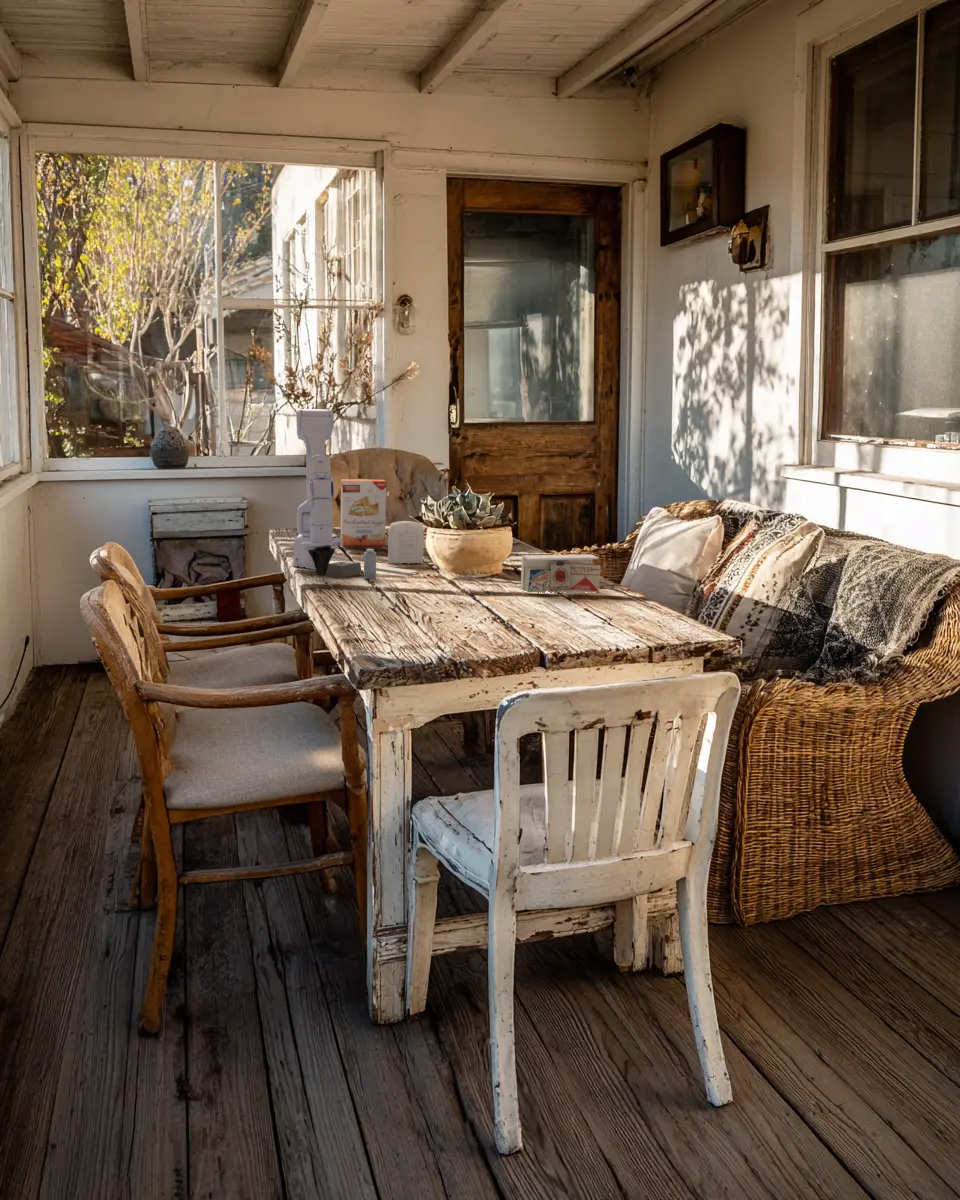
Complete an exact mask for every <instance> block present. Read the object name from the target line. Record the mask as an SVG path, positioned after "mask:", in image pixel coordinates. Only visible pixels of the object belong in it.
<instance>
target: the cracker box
mask: <svg viewBox="0 0 960 1200" xmlns="http://www.w3.org/2000/svg"><path fill="white" fill-rule="evenodd" d="M386 509H387V481H386V480H385V479H369V478H364V479H363V478H360V479H359V478H358V479H354V478H353V479H352V478H348V479H347V478H345V479H344V478H343V479H341V480H340V538H342V539H343V546H345V547H346V546H350V547H353V546H355V547H356V546H358V547H359V546H360V547H361V546H363V547H364V546H367V547H368V546H371V547H372V546H373V547H374V546H377V547H378V546H381V547H385V546H386V523H387V522H386V519H387V516H386V515H387V510H386Z"/></svg>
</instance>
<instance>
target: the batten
mask: <svg viewBox="0 0 960 1200" xmlns="http://www.w3.org/2000/svg"><path fill="white" fill-rule="evenodd" d="M379 570H380V572H385V571H387V572H386V573H392V572H394V573H393V574H398V573H403V574H402V575H405V574H413V573H418V574H420V572H419V571H418V570H412V569H406V568H399V567H392V566H388V565H387V566H386V565H378V564H376V571H379ZM413 575H414V574H413Z"/></svg>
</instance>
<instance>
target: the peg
mask: <svg viewBox="0 0 960 1200" xmlns="http://www.w3.org/2000/svg"><path fill="white" fill-rule="evenodd" d="M363 562H364V563H363V579H364V578H365V579H364V580H376V579H377V570H376V565H377V552H376V551H375V549H374V548H366V551H364V552H363Z"/></svg>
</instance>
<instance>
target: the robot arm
mask: <svg viewBox="0 0 960 1200" xmlns="http://www.w3.org/2000/svg"><path fill="white" fill-rule="evenodd" d="M295 418H296V419H295V420H296V435H297V439H299V440H301V441H302V442H303V443H304V446H305V451H306V452H305V453H306V454H305V458H306V461H305V462H306V464H305V465H306V500H305V501H304V502H302V503H301V504H300V505H299V506H298V507H297V513H296V530H297V531H296V532H297V533H298V535H297V536H296V537H295V539H294V542H293V563H292V564H291V566H292V565H293V566H292V567H297V566H299V567H298V568H303V567H305V568H304V569H309V568H310V570H315V572H316V575H317V576H321V577H323V576H327V568H328V565H329V564H330V561H331V559H332V557H333V555H334V553H335V548H333V547H338V546H339V547H342V546H343V539H342V538H341V537H336V538H335V537H334V538H333V532H334V516H333V501H334V497H335V483H334V482H335V481H334V478H333V475H332V472H331V461H330V458H329V457H328V456H326V441H328V440H330V439H331V436H332V434H333V430H334V423H335V422H334V421H335V420H334V410H332V408H328V409H318V408H317V409H316V408H315V409H311V408H310V409H309V408H308V409H307V408H305V409H304V408H298V410H296V417H295ZM306 511H307V512H306Z"/></svg>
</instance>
